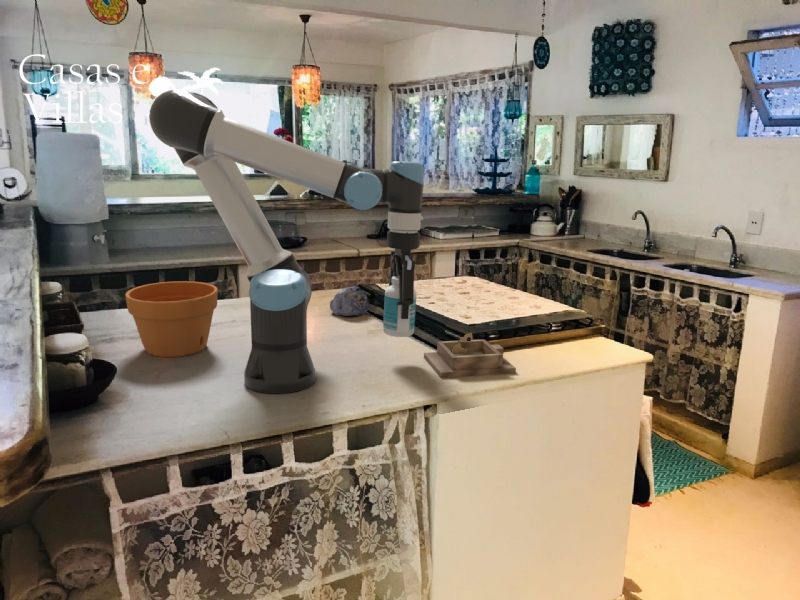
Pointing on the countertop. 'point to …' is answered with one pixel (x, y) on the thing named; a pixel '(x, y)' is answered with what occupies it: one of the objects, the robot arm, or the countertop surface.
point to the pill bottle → (396, 311)
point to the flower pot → (173, 316)
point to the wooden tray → (468, 359)
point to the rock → (350, 302)
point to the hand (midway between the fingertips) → (398, 326)
